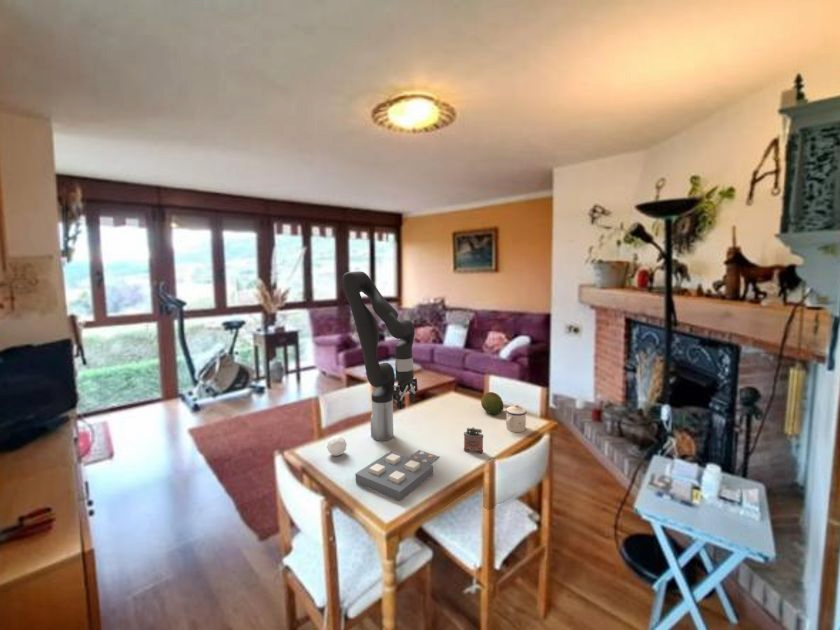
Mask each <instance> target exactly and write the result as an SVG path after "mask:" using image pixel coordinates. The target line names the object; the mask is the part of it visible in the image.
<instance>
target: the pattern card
mask: <svg viewBox="0 0 840 630" xmlns="http://www.w3.org/2000/svg"><path fill="white" fill-rule="evenodd" d="M408 457H410V458H413V459H416V460H419V461H422V462H424V463H427V464H430V465H432V464H433V463H434V462H435V461H437V459H439V458H440V456H438V455H436V454H432V453H429V452H426V451H424V450H421V449H418V450H417V451H415V452H414V453H412V454H411V455H409V456H408Z"/></svg>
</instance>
